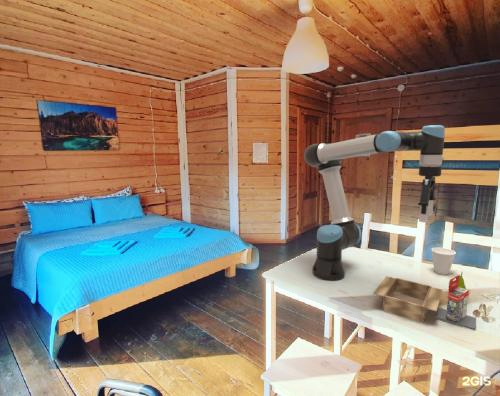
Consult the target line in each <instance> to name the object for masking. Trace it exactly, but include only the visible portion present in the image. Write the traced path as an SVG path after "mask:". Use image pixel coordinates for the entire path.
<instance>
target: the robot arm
mask: <svg viewBox="0 0 500 396" xmlns="http://www.w3.org/2000/svg"><path fill="white" fill-rule="evenodd" d="M445 131H446V130H445V126H444V125H441V124H438V125H437V124H436V125H434V124H432V125H423V127H422V128H421V130H420V131H393V130H386V131H382V132H381V133H378V134H372V135H366V136H361V137H357V138H351V139H347V140H342V141H339V142H338V141H337V142H334V143H325V142H323V143H313V144H311V145H308V146H307V147H306V148H305V151H304V154H303V159H304V161H305V163H306V164H307V165H308V166H310V167H312V168H317V171H318V173H320V174H321V175H322V179H323V183H324V188H325V193H326V197H327V200H328V204H329V209H330V213H331V218H332V220H331V222H330V224H325V225H322V226H320V227H318V229H317V232H316V259H315V260H314V264H313V266H312V274H313V276H314V277H316V278H318V279H320V280H324V281H332V282H333V281H340V280H343V279H344V278H345V277H346V271H345V267H344V264H343V260H342V257H343V251H344V250H347V249H349V248H352V247H354V246H356V245H358V244H359V242H360V241H361V239H362V229H361V227H360V226H359V225H358V224H357V223H356V222H355V219H354V218H353V217H352V216H351V215H350V211H349V207H348V206H349V205H348V203H347V198H346V194H345V191H344V186H343V182H342V181H343V180H342V177H341V173H340V170H341V168H342V161H343V159H349V158H350V159H351V158H354V157H355V158H356V157H363V156H369V155H375V154H383V153H388V152H407V151H408V152H409V151H413V152H415V151H420V154H419V164H418V165H420V166H419V167H418V176H420V177H424V179H422V187H421V193H420V199H419V202H417V205H418V206H419V216H418V217H419V218H418V222H420V223H428V219H429V218H428V217H433V212H434V211H433V210H434V201H436V199H437V198H436V196H435V193H436V192H435V190H436V189H435V187H436V177H440V176H442V166H441V165H442V163H443V161H444V160H445V157H444V156H443V154H444V146H445V145H444V144H445V139H446V136H445Z"/></svg>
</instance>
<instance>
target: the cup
mask: <svg viewBox="0 0 500 396" xmlns="http://www.w3.org/2000/svg"><path fill="white" fill-rule="evenodd" d="M430 250H431V256H432V263H433V264H432V265H433V272H434V273H435V274H439V275H442V276H443V275H444V276H446V275H449V274H450V272H451V270H452V269H451V268H452V265H453V262H454V259H455V256H456V254H457V252H456V251H455V250H453V249H450V248H447V247H432V248H430Z"/></svg>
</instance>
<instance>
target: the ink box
mask: <svg viewBox="0 0 500 396" xmlns="http://www.w3.org/2000/svg"><path fill="white" fill-rule="evenodd" d="M460 276H461V274H458V275H456V276H454V277H451V278H450V279H449V282H448V290H447V291H448V292H447V301H446V302H447V303H446V319H448V320H451V321H453V322H455V323H457V322H459V321H460V320H461V319H463V318H464V317H465V316H466V315H467V312H468V304H469V303H468V302H469V301H468V300H469V295H468V293H469V292H470V291H469V289H467V288H466V289H467V290H466V289H463V288H460V287H458V283H459V278H460ZM469 294H470V293H469Z"/></svg>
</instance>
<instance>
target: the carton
mask: <svg viewBox="0 0 500 396" xmlns="http://www.w3.org/2000/svg"><path fill="white" fill-rule="evenodd" d="M396 293H399V294H402V295H406V296H410V297H414V298H418V299H421V300H423V303H422V304H418V303H414V302H411V301H408V300H403V299H401V298H396V297H394V295H395V294H396ZM372 294H373V295H377V296H380V297H382V298H383V299H382V311H383V312H386V313H389V314H392V315H396V316H398V317H403V318H405V319H409V320H412V321H415V322H418V323H424V320H425V317H426V314H427V311H428V310H430V311H433V312H438V309H439V303H440V300H441V297H442V294H443V289H442V288H438V287H433V286H432V285H429V284H425V283H424V284H423V283H419V282H415V281H412V280H407V279H402V278H398V277H391V276H387V275H386V276H385V277H383V280H382V281H381V282H380V284H378V286H377V287H376V289H375V290H374V291H373V293H372Z"/></svg>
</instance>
